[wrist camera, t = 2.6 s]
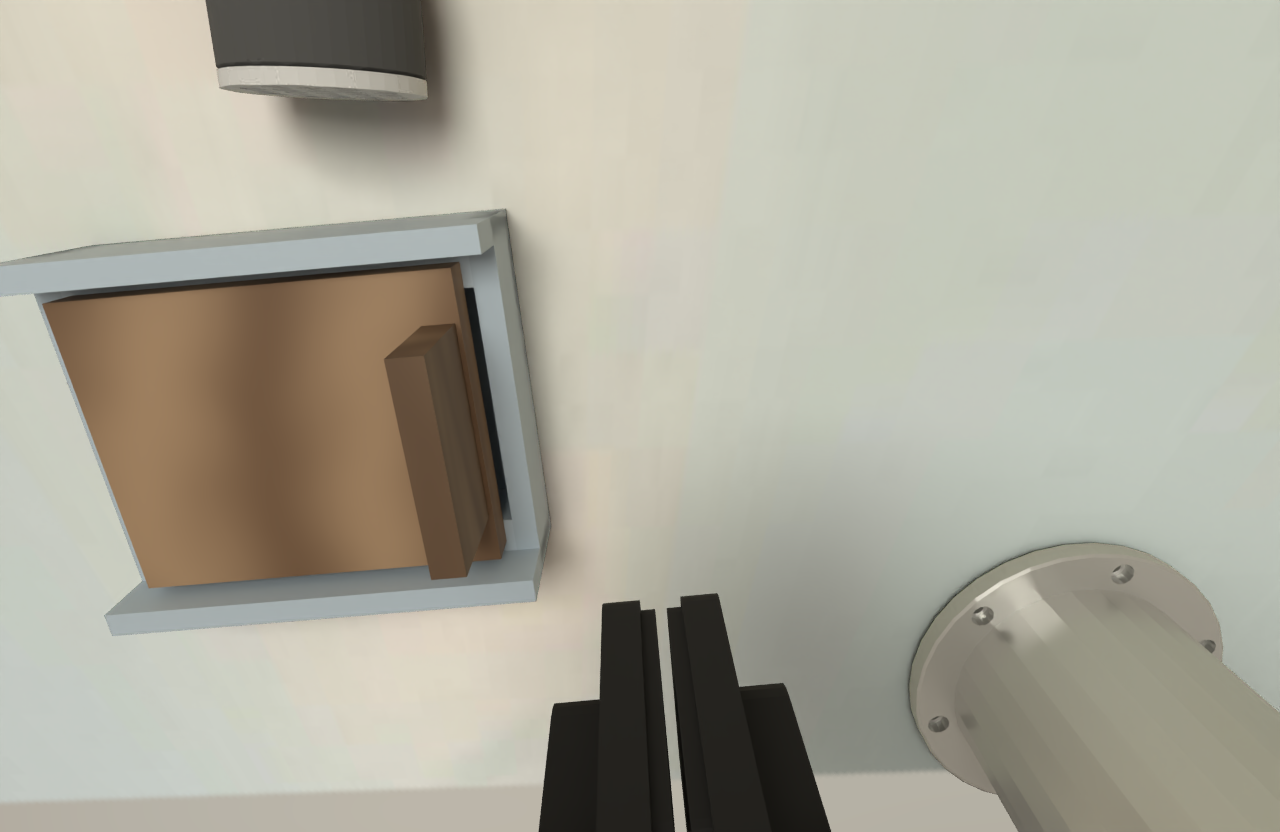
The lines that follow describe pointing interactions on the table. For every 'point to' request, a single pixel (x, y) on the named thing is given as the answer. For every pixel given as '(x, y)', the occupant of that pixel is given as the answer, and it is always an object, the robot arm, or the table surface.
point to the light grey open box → (322, 251)
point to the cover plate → (289, 423)
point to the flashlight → (320, 48)
